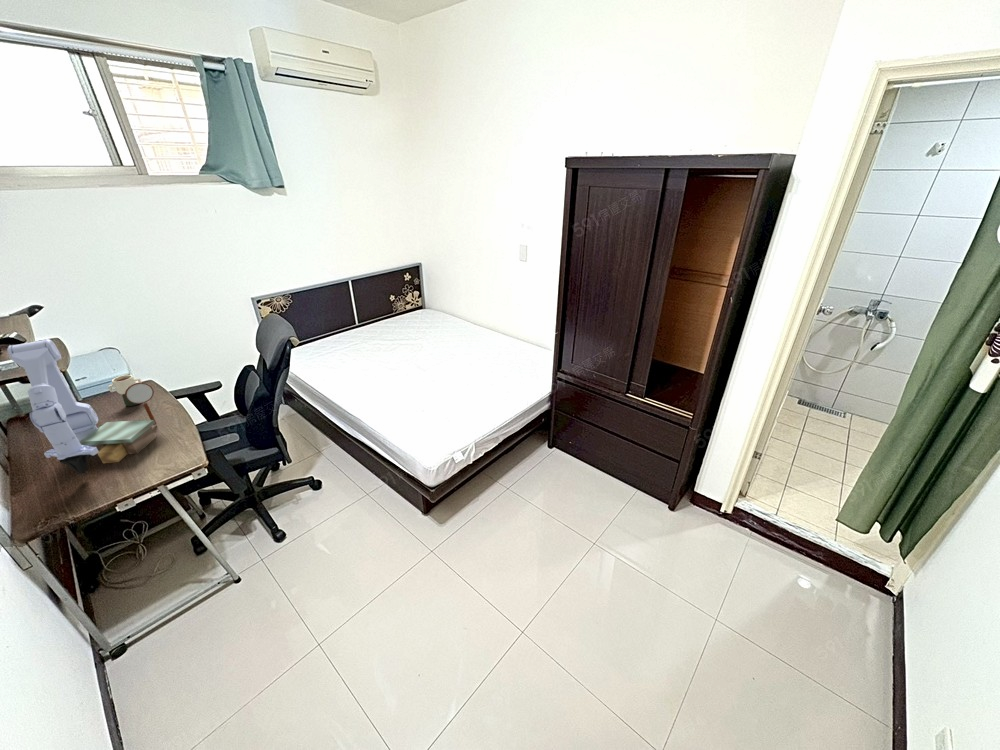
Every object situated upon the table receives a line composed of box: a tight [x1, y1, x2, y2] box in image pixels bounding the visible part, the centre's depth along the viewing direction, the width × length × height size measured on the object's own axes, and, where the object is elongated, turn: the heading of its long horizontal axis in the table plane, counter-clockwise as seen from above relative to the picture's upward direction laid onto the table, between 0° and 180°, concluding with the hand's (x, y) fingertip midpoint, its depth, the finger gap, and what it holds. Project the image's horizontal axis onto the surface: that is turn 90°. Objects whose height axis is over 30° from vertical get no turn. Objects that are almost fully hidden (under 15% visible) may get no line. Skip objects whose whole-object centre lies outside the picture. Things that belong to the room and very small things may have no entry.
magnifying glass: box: [125, 382, 157, 427], centre depth 159 cm, size 9×2×20 cm, turn 145°
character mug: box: [107, 374, 143, 407], centre depth 176 cm, size 11×7×13 cm, turn 134°
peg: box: [96, 443, 129, 464], centre depth 147 cm, size 5×12×5 cm, turn 9°
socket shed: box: [79, 419, 157, 455], centre depth 149 cm, size 17×12×8 cm
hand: (83, 471), depth 134 cm, fingers closed
